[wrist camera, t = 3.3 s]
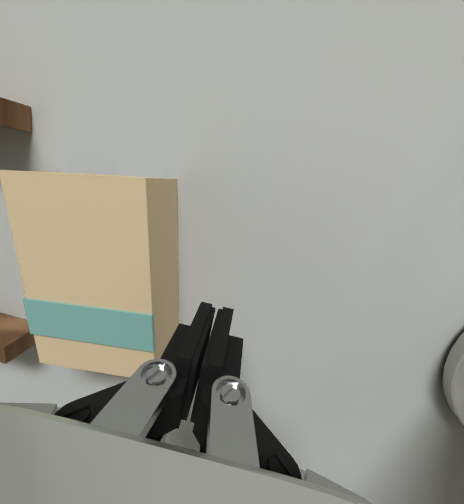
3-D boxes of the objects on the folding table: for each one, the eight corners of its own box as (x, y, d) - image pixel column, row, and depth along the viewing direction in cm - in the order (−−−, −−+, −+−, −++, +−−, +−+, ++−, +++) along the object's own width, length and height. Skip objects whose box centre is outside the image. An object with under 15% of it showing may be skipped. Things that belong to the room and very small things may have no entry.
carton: (179, 179, 16) (145, 178, 11) (181, 337, 19) (155, 383, 15) (66, 172, 17) (-6, 169, 12) (87, 324, 20) (36, 364, 16)
